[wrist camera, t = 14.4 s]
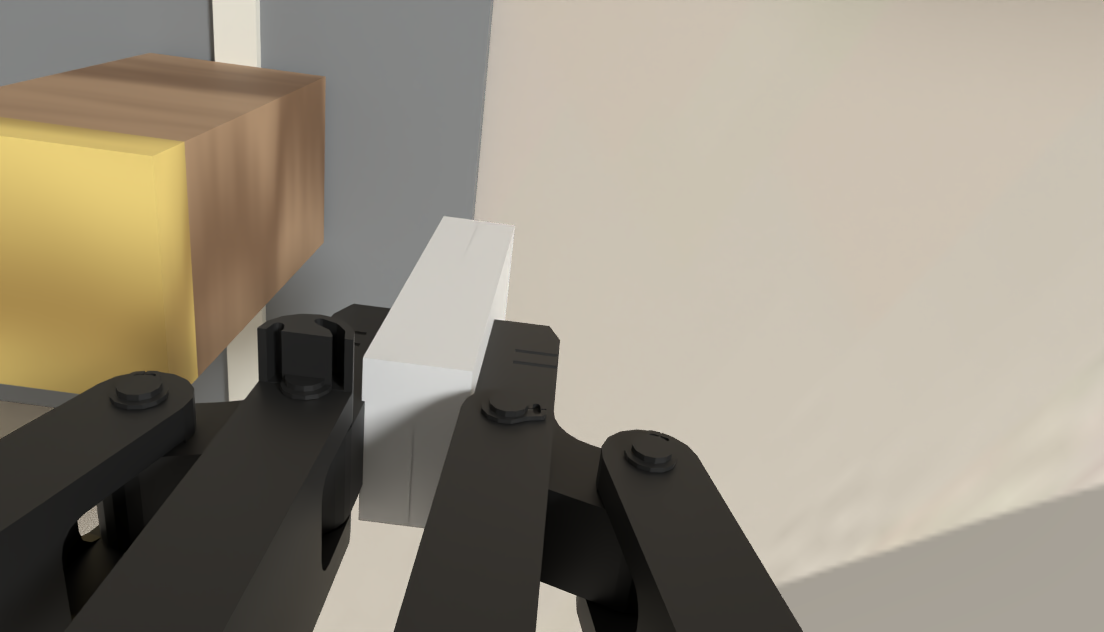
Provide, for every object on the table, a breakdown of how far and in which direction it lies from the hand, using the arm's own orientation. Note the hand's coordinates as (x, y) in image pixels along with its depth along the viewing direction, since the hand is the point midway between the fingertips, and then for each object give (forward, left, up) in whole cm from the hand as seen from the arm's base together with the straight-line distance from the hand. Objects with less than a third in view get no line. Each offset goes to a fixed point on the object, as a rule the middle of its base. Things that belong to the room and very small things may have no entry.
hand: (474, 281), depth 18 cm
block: (0, -8, -8) cm, 11 cm away
